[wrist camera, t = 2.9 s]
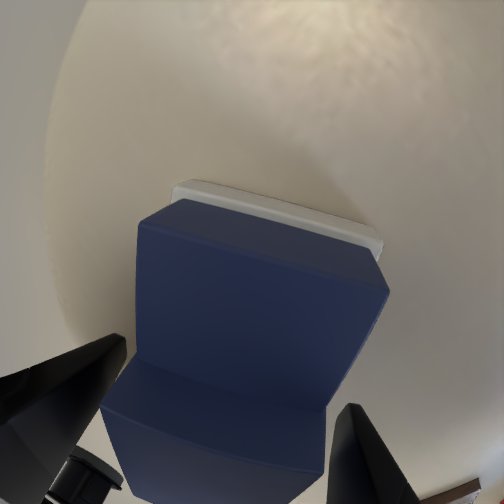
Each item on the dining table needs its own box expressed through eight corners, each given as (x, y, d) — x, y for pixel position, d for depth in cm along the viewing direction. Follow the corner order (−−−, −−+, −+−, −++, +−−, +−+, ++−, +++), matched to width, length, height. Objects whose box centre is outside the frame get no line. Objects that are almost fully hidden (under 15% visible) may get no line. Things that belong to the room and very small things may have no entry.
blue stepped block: (270, 447, 12) (251, 534, 7) (168, 416, 12) (129, 496, 8) (375, 227, 7) (446, 347, 3) (190, 177, 8) (59, 237, 3)
